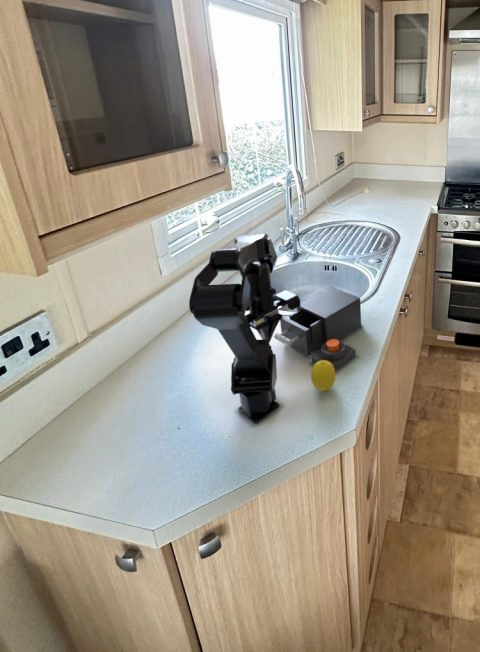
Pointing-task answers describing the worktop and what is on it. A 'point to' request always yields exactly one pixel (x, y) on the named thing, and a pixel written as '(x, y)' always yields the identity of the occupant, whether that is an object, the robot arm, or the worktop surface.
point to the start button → (333, 345)
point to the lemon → (323, 375)
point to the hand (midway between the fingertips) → (266, 342)
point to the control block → (335, 355)
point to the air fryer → (335, 312)
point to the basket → (302, 332)
